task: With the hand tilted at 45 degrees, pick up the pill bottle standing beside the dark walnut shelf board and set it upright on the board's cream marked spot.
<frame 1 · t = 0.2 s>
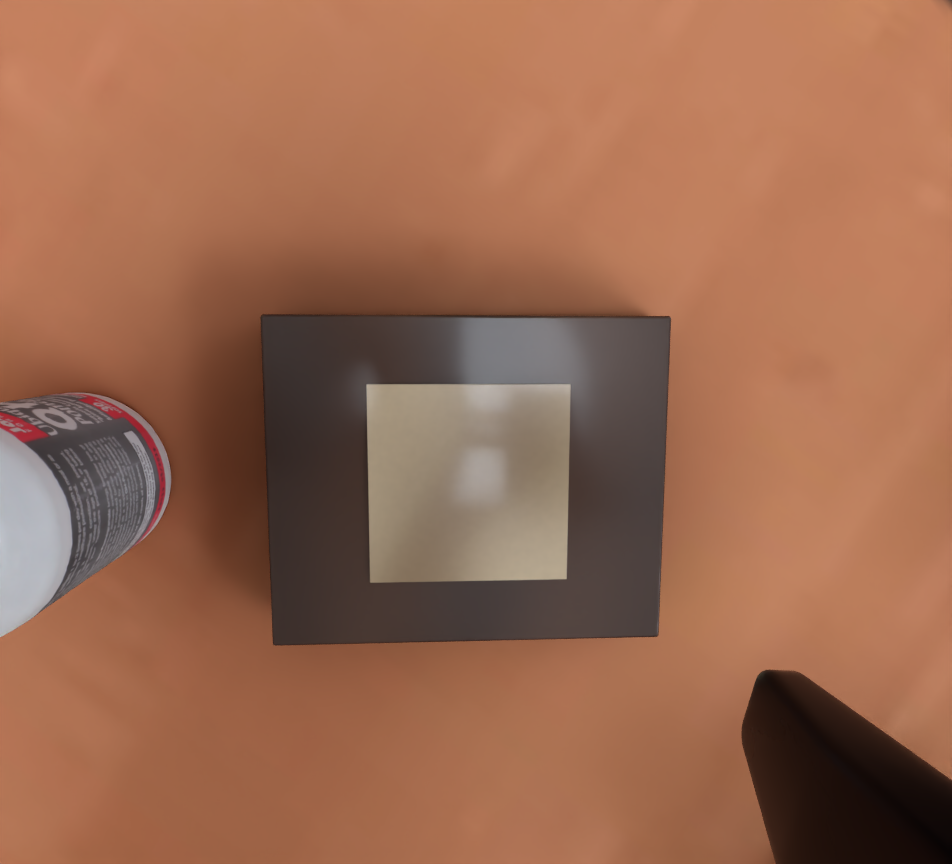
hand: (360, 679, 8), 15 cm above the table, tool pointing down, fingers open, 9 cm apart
pill bottle: (91, 473, 23), on the table
shelf board: (466, 471, 23), on the table
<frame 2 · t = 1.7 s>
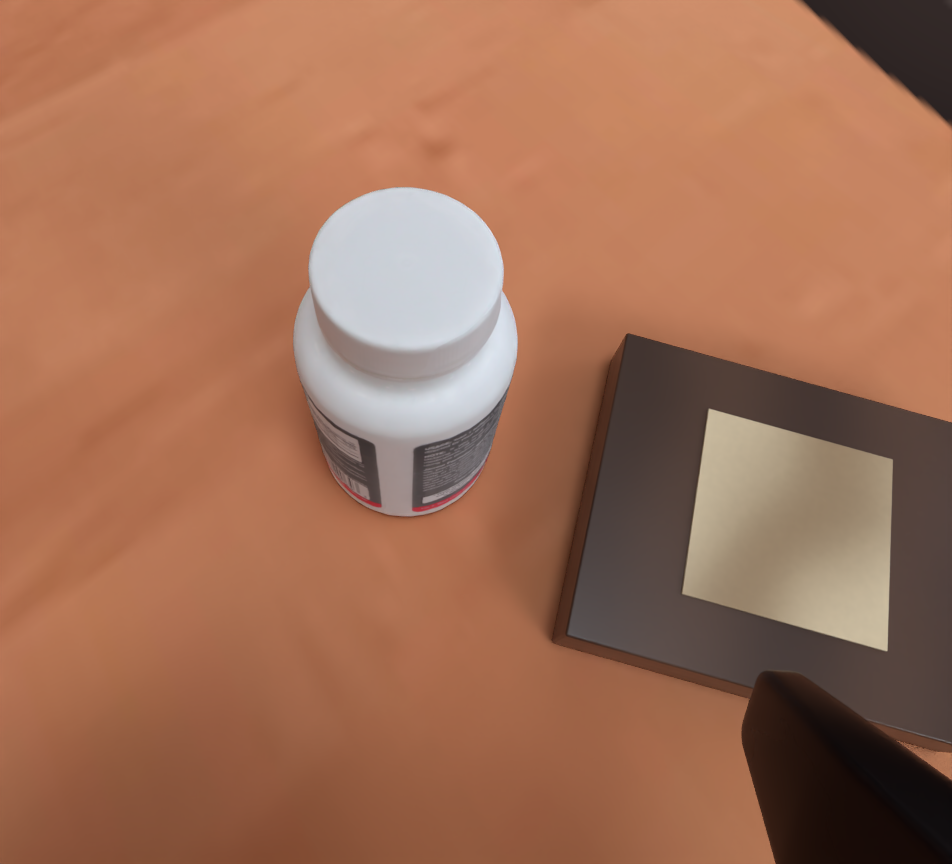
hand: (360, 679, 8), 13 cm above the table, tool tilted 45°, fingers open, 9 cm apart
pill bottle: (406, 442, 23), on the table
shelf board: (760, 539, 23), on the table
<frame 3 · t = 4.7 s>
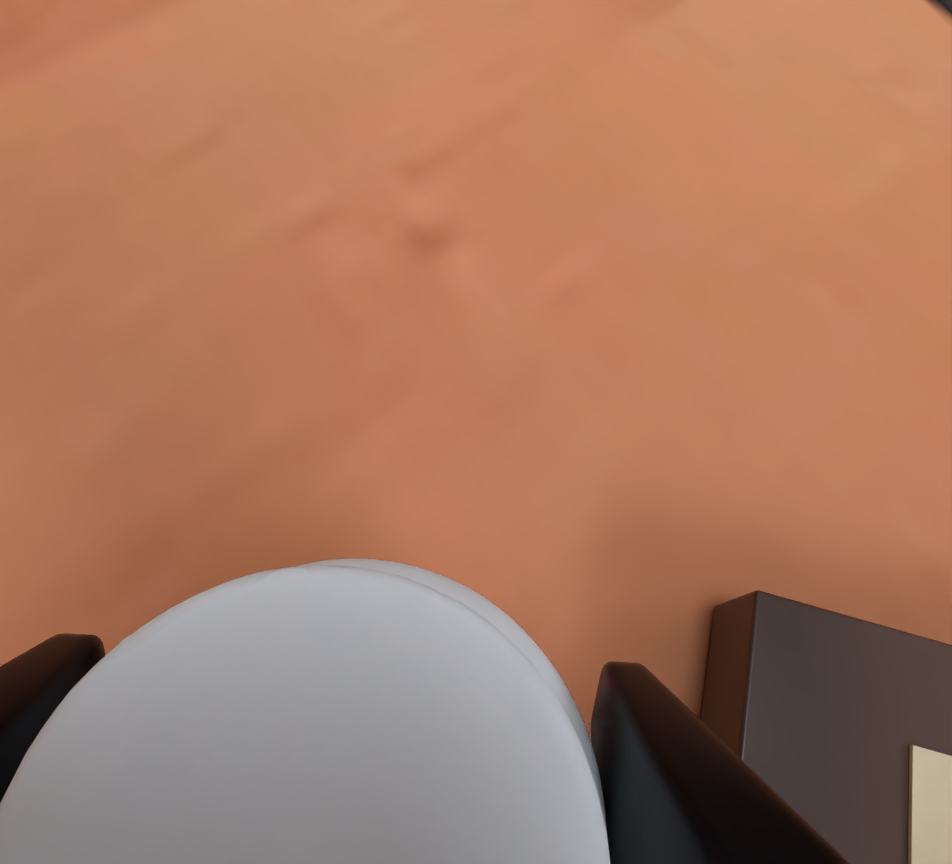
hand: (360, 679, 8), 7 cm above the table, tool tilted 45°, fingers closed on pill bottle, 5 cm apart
pill bottle: (371, 776, 13), on the table, touching gripper
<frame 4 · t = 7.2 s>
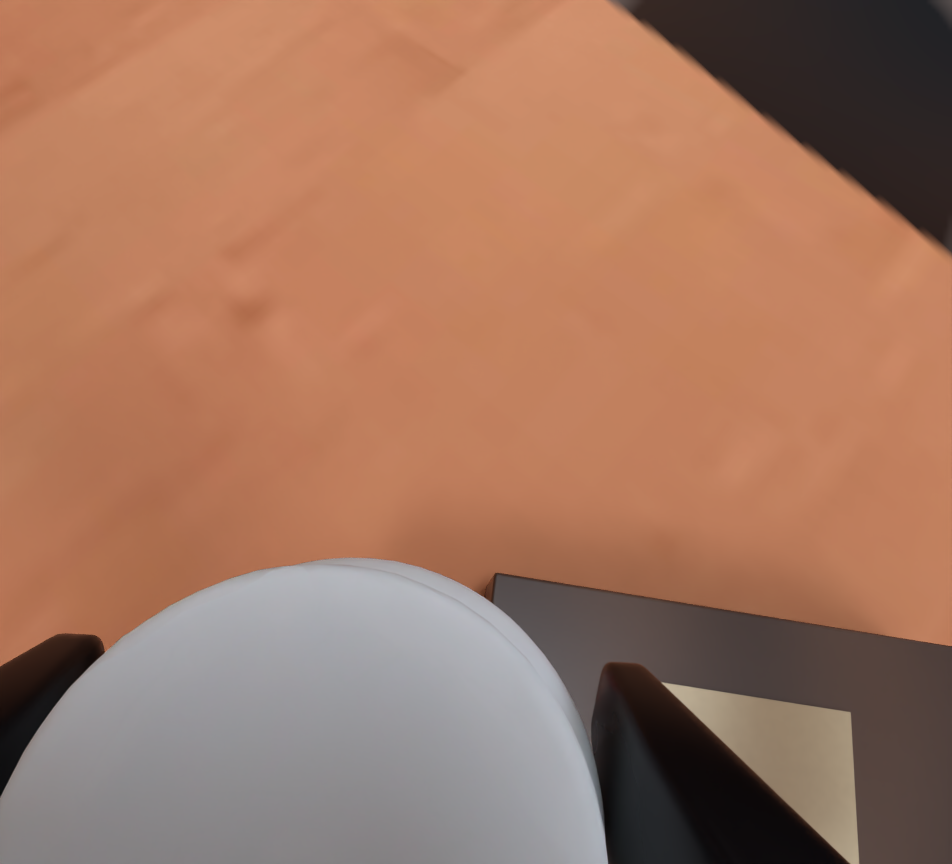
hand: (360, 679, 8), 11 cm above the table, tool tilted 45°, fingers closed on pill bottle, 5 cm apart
pill bottle: (370, 776, 13), point 4 cm above the table, touching gripper
shelf board: (693, 821, 18), on the table
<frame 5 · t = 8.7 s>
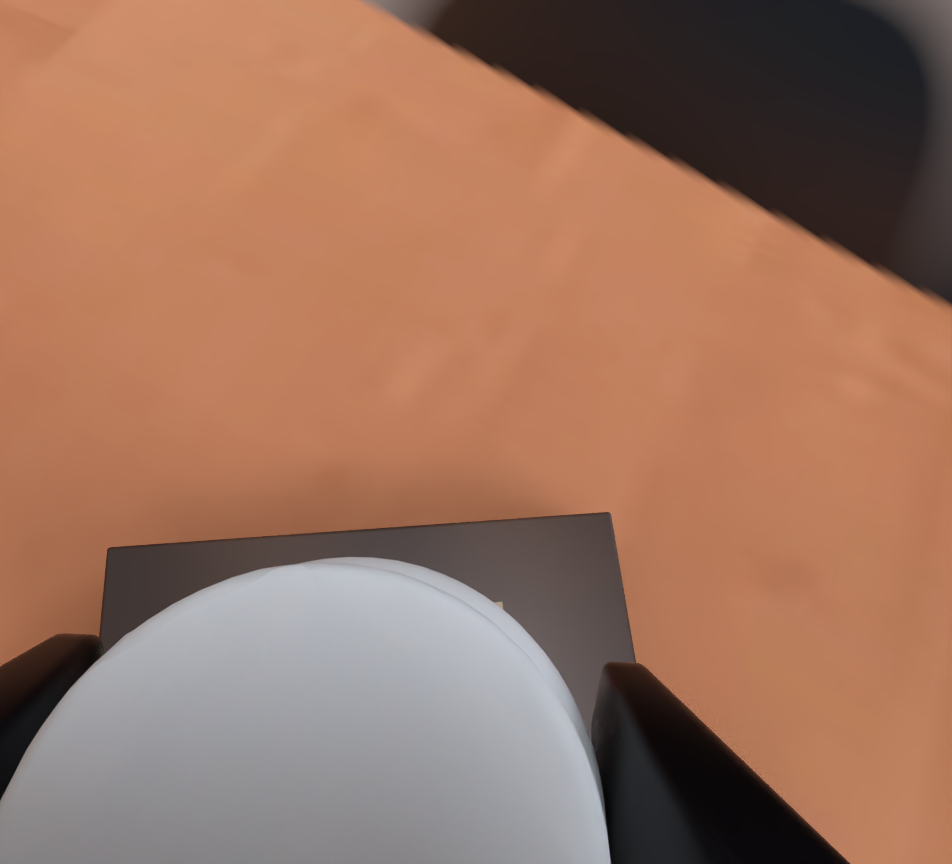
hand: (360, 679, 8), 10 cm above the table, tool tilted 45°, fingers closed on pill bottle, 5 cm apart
pill bottle: (371, 775, 13), point 4 cm above the table, touching gripper
shelf board: (381, 751, 17), on the table
when the fingers open (9 cm above the table, at t = 9.7 s): pill bottle stays where it is, resting on shelf board.
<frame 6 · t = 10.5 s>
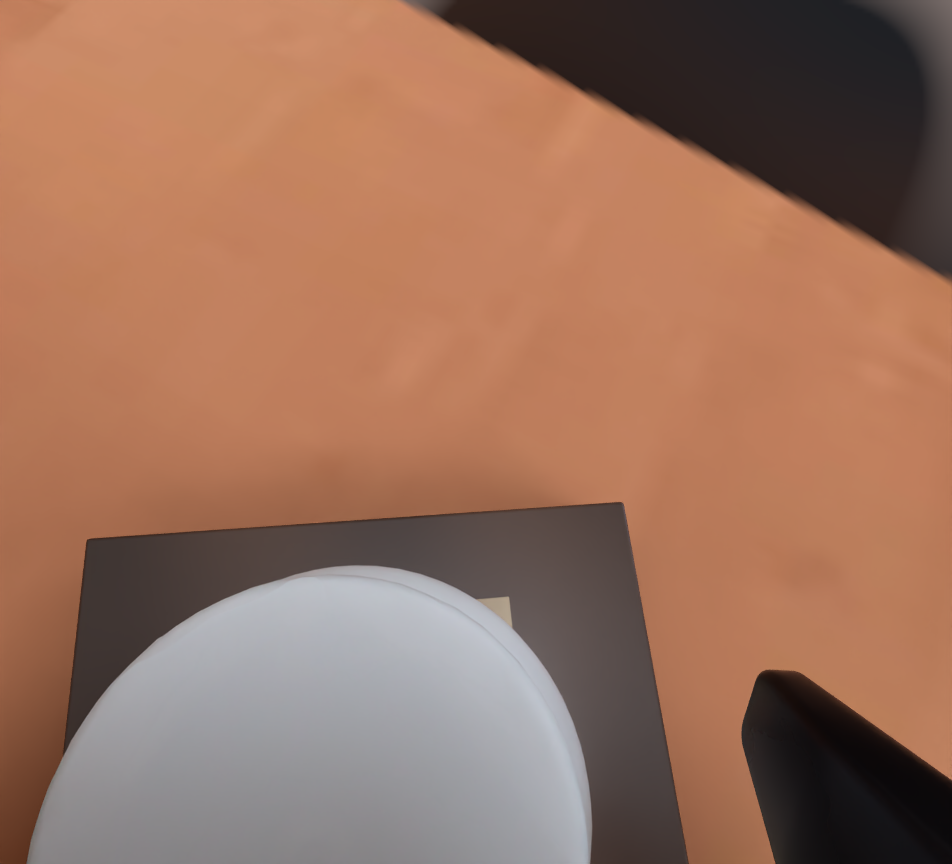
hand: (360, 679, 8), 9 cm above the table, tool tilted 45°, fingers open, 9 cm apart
pill bottle: (373, 771, 14), point 2 cm above the table, touching shelf board
shelf board: (380, 757, 16), on the table
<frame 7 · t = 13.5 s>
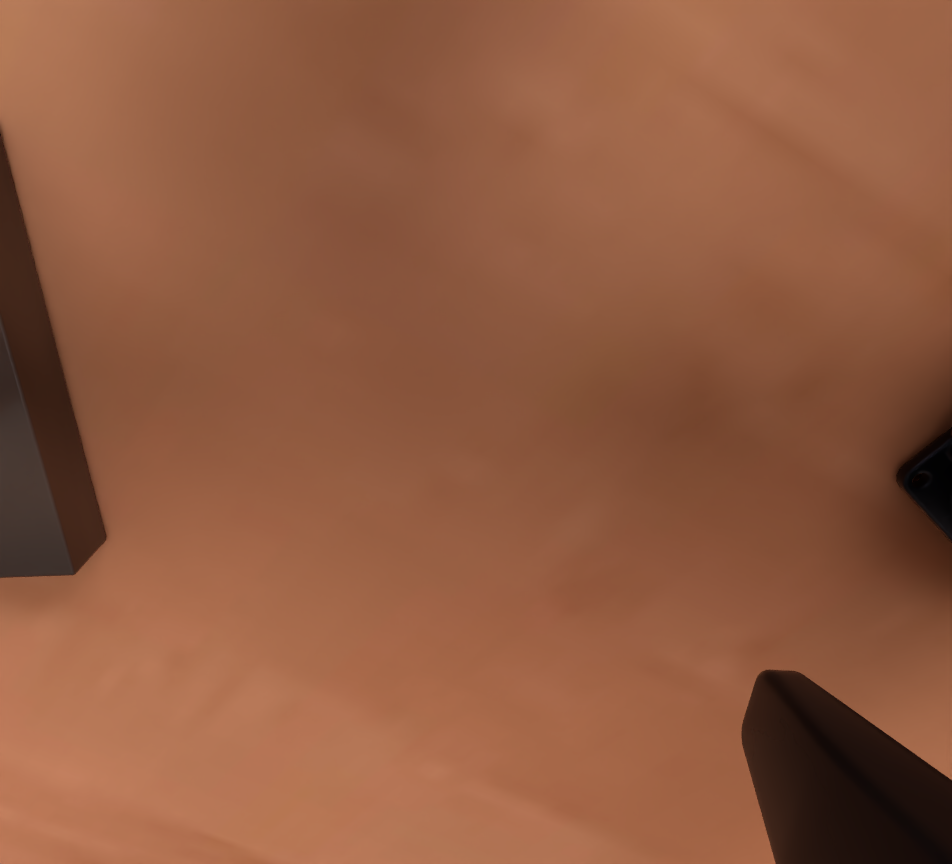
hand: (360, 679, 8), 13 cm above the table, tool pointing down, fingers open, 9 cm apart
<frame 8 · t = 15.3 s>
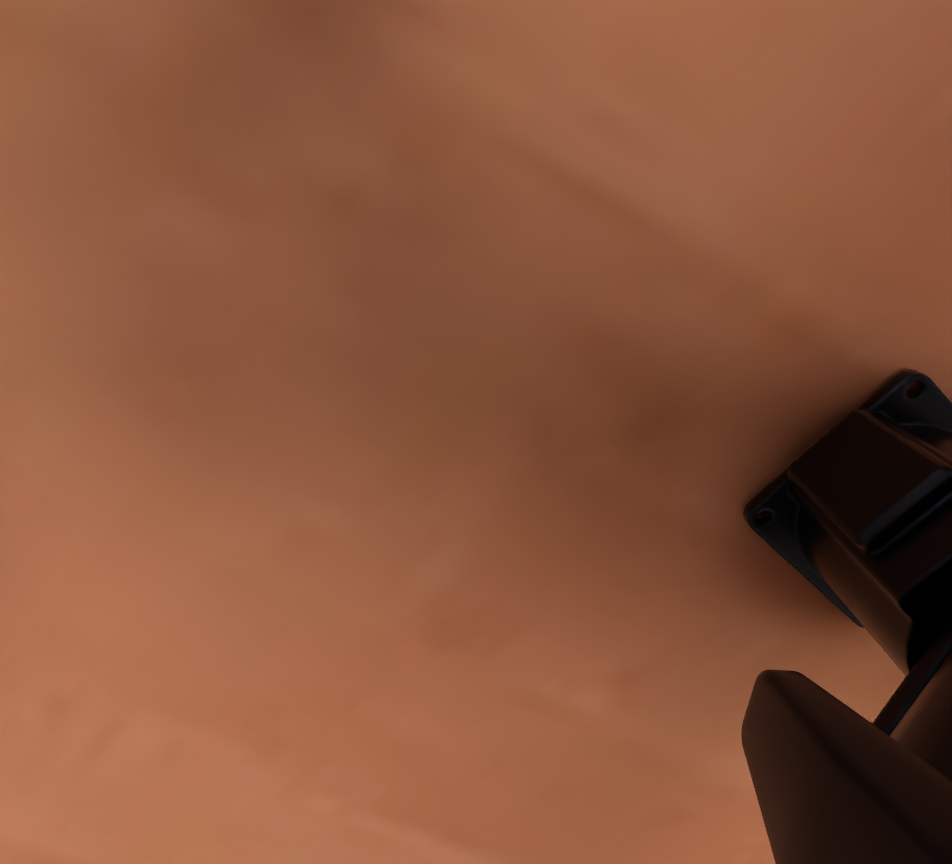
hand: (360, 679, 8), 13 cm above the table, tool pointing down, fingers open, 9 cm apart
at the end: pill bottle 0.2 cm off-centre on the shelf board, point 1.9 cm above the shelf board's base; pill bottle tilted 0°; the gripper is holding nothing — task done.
